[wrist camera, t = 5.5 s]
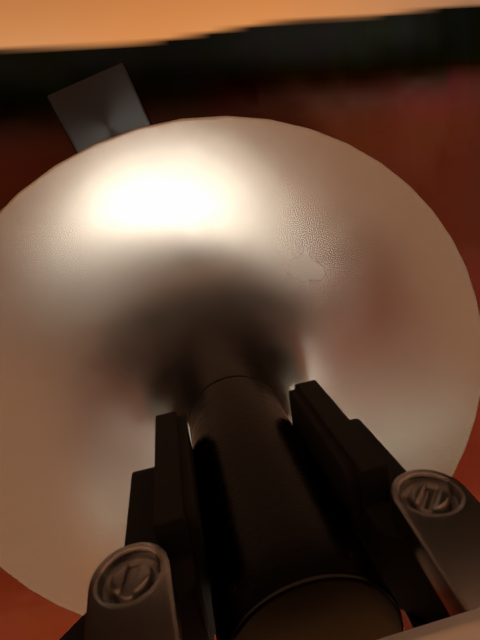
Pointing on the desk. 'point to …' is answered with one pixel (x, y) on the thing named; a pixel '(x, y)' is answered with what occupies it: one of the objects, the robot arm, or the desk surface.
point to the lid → (224, 358)
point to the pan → (99, 107)
